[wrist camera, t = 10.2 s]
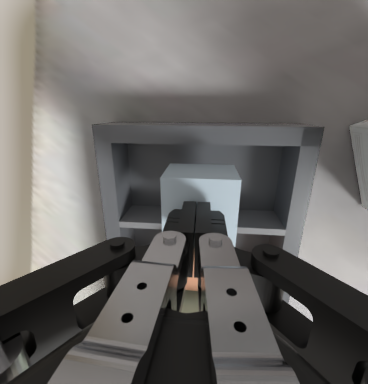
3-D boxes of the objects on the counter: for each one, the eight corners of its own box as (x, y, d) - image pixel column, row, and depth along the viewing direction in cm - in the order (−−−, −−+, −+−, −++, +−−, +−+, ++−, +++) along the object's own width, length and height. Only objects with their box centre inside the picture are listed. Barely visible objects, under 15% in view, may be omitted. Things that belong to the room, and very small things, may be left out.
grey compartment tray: (301, 124, 17) (324, 127, 14) (261, 358, 26) (269, 395, 23) (112, 122, 19) (91, 124, 15) (134, 346, 27) (124, 379, 24)
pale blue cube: (233, 165, 15) (241, 180, 12) (229, 222, 17) (234, 250, 14) (170, 163, 16) (160, 177, 12) (171, 220, 17) (162, 246, 14)
